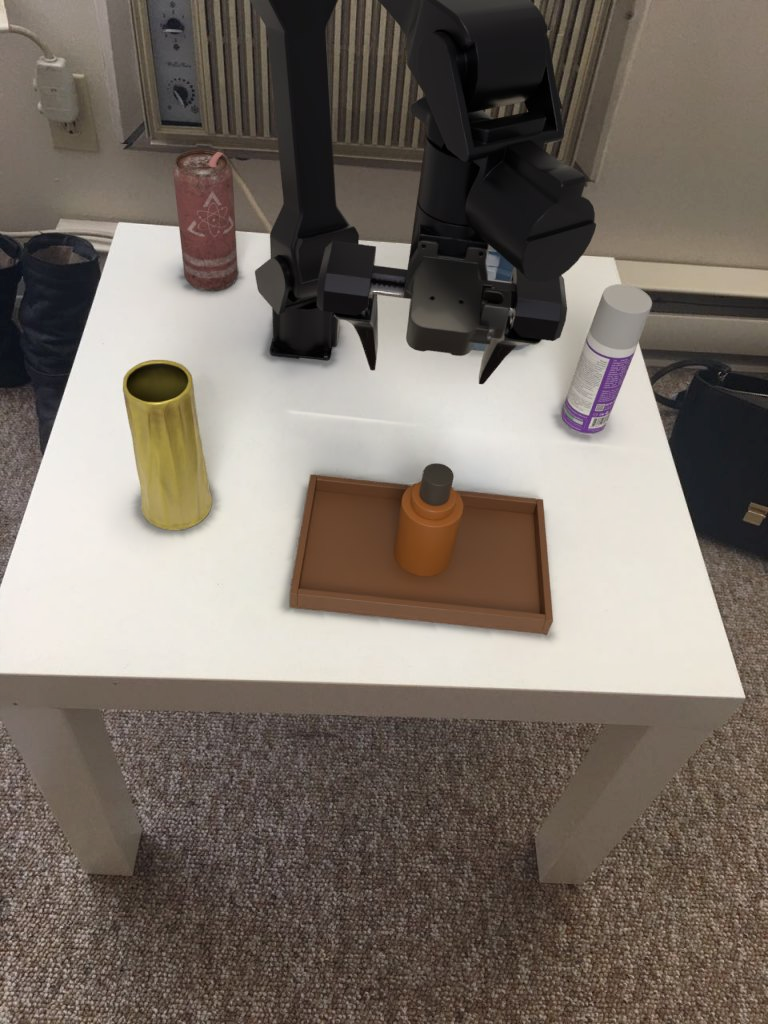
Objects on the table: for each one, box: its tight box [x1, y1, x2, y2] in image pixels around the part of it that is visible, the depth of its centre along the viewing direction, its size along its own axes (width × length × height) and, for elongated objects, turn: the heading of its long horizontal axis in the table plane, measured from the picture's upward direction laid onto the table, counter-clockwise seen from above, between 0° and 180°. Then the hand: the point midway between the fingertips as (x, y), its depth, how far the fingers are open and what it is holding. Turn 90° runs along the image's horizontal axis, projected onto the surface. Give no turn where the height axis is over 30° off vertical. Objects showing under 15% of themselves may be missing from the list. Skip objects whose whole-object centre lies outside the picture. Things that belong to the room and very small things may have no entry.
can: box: [172, 149, 239, 292], centre depth 91 cm, size 6×6×14 cm
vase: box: [122, 359, 213, 531], centre depth 68 cm, size 6×6×14 cm
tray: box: [289, 474, 554, 635], centre depth 71 cm, size 21×13×2 cm, turn 86°
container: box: [560, 283, 653, 436], centre depth 79 cm, size 5×5×15 cm
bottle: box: [394, 462, 463, 576], centre depth 67 cm, size 5×5×10 cm
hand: (427, 374), depth 70 cm, fingers open, 9 cm apart
